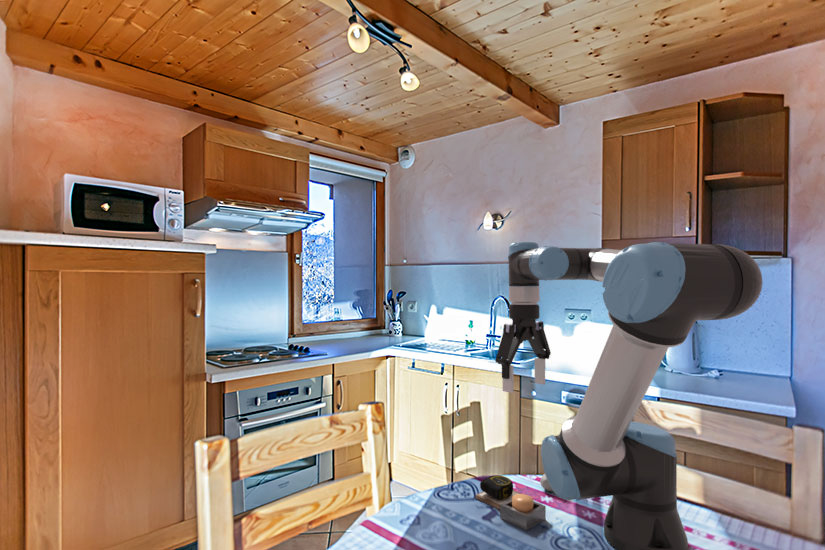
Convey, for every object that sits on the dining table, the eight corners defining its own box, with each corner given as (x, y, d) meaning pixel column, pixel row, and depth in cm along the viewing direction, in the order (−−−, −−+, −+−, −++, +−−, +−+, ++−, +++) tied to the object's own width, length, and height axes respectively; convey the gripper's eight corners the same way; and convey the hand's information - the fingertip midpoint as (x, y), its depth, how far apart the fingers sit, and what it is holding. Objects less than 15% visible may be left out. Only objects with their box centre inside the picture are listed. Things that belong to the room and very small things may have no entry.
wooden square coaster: (528, 499, 111) (528, 496, 111) (505, 512, 105) (505, 508, 105) (499, 487, 118) (499, 483, 118) (475, 498, 112) (475, 494, 112)
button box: (545, 519, 102) (545, 505, 102) (526, 530, 97) (526, 516, 97) (519, 508, 107) (519, 495, 107) (500, 518, 103) (500, 504, 103)
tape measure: (478, 493, 113) (478, 477, 113) (500, 487, 116) (500, 472, 116) (496, 504, 107) (496, 488, 107) (519, 498, 110) (519, 482, 110)
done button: (537, 512, 102) (537, 499, 102) (525, 519, 99) (525, 505, 99) (520, 505, 106) (520, 492, 106) (507, 511, 103) (507, 498, 103)
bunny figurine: (556, 484, 120) (556, 453, 120) (568, 496, 113) (568, 463, 113) (536, 486, 119) (536, 454, 119) (547, 497, 112) (547, 464, 112)
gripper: (539, 301, 128) (539, 378, 128) (480, 304, 112) (480, 392, 111) (563, 302, 122) (564, 382, 122) (505, 305, 106) (506, 398, 106)
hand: (524, 387), depth 117 cm, fingers open, 13 cm apart
